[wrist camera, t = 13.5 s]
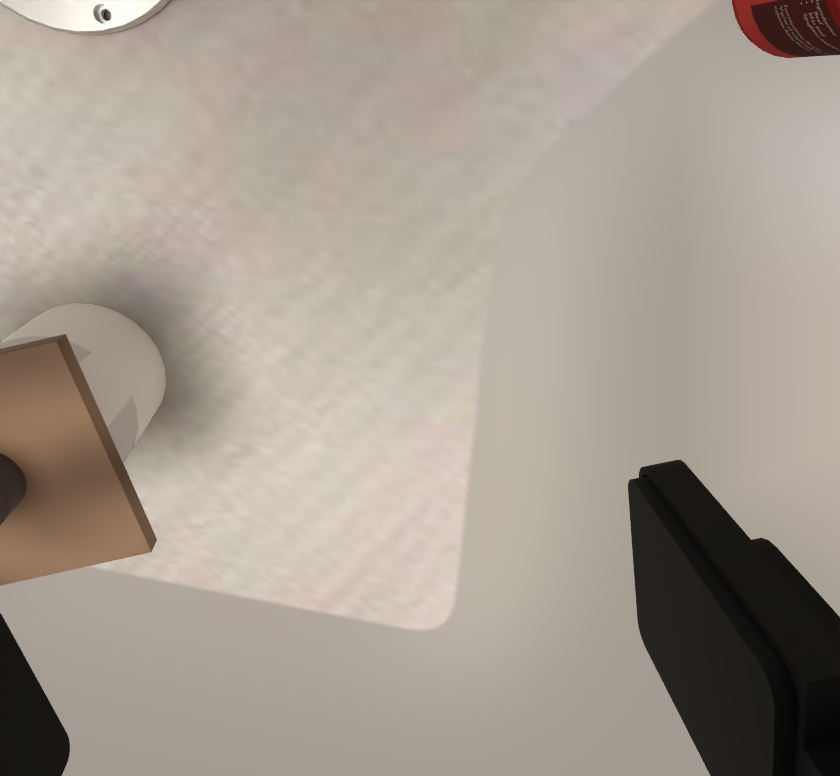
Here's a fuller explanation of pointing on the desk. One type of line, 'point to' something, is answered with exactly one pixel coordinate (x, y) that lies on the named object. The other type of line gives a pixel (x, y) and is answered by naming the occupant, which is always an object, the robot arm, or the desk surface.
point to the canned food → (791, 26)
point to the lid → (59, 470)
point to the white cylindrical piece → (107, 364)
